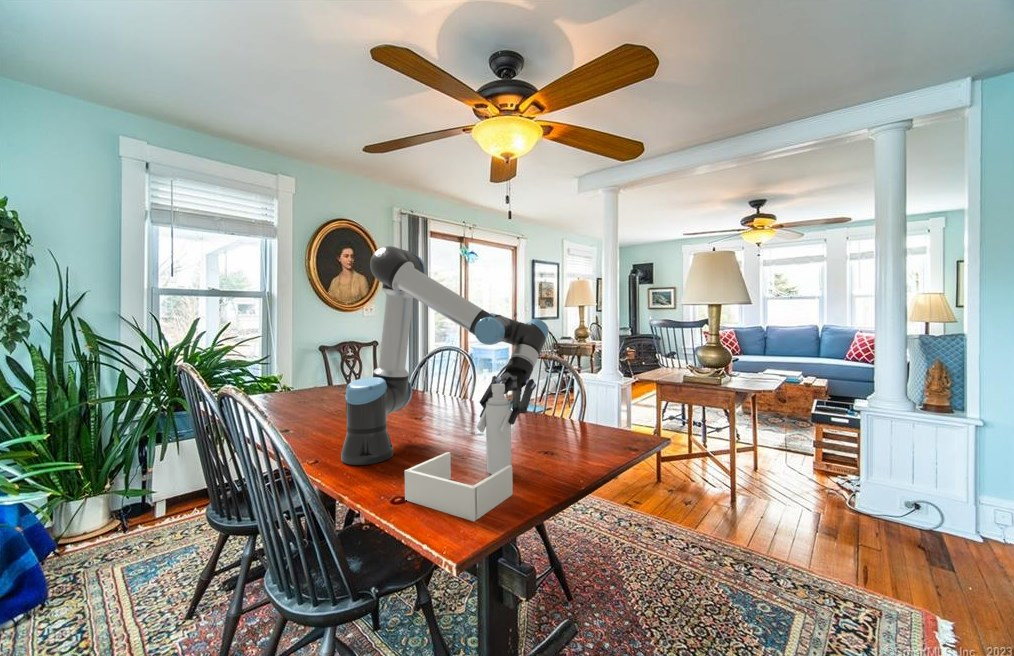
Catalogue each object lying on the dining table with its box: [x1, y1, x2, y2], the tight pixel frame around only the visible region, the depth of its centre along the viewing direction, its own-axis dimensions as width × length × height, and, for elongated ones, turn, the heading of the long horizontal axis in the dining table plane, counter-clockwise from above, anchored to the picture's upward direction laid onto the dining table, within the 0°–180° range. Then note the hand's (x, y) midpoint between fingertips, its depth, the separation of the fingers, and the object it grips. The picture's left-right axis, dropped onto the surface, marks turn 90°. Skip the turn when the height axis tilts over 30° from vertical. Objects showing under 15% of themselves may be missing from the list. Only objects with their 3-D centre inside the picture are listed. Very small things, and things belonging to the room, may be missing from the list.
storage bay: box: [404, 451, 514, 522], centre depth 101 cm, size 20×16×7 cm
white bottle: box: [485, 384, 512, 475], centre depth 115 cm, size 7×7×25 cm
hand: (491, 431), depth 112 cm, fingers closed on white bottle, 7 cm apart
